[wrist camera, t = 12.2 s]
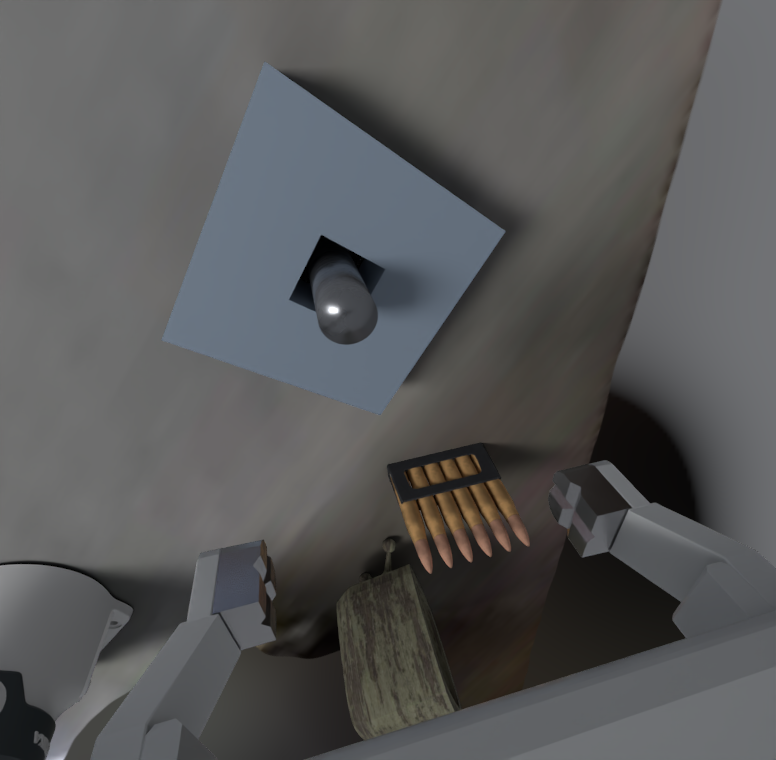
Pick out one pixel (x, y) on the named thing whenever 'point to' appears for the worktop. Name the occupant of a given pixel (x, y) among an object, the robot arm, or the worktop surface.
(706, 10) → the worktop surface
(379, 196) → the bore block
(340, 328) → the steel pin
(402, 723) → the tabletop clock
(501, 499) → the ammunition clip
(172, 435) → the worktop surface
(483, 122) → the worktop surface
